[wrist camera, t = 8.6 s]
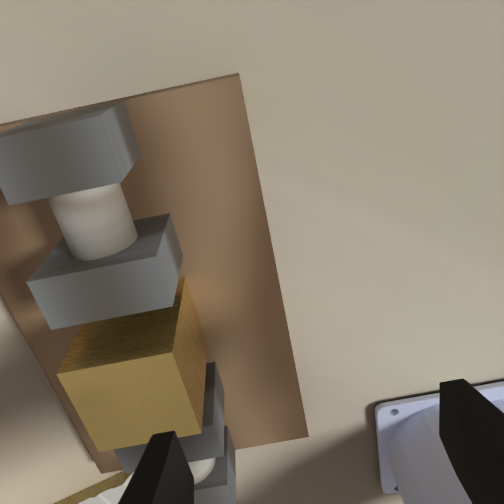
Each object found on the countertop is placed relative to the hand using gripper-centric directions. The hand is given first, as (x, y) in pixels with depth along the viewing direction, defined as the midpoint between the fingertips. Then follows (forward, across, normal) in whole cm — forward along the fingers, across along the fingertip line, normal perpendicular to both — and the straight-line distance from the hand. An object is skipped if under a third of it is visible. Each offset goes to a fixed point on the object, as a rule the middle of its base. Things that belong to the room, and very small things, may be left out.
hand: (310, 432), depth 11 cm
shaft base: (+9, +6, +1) cm, 11 cm away
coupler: (+8, +6, +1) cm, 10 cm away
